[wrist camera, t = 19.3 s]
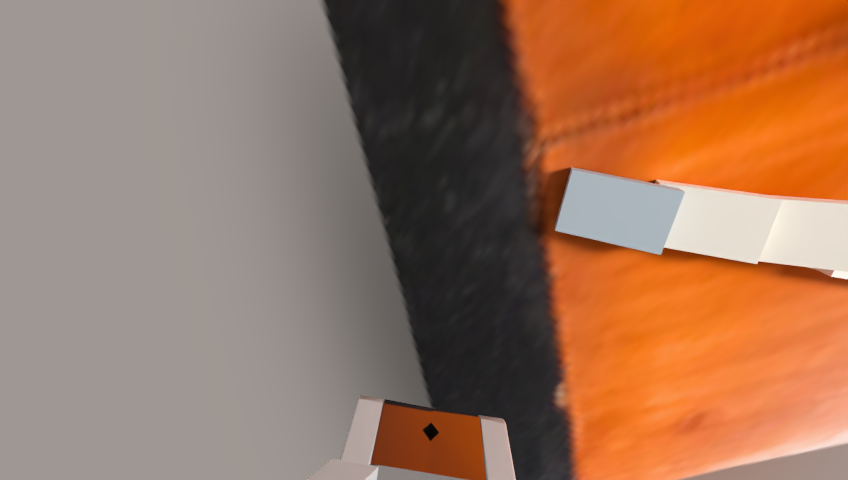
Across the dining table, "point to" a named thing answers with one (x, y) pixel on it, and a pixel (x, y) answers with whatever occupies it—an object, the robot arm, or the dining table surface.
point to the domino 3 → (809, 234)
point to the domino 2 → (722, 222)
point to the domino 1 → (618, 210)
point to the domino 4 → (834, 273)
